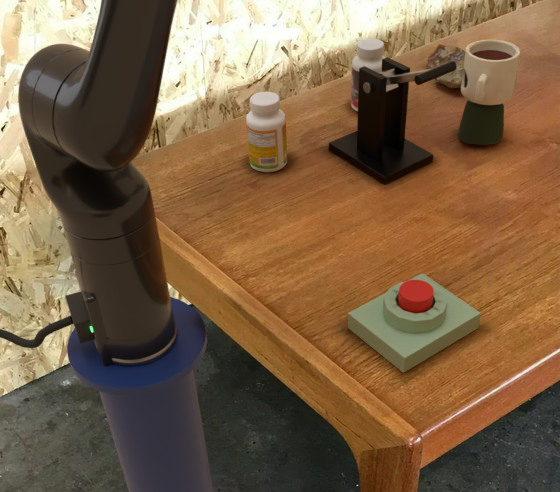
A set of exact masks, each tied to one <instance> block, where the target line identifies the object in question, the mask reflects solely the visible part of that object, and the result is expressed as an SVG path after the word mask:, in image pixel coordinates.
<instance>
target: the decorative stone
mask: <svg viewBox="0 0 560 492" xmlns="http://www.w3.org/2000/svg"><path fill="white" fill-rule="evenodd" d="M465 51H466V50H464V49H462V48H460V47H459V46H454V45H445V44H440V43H439V44H437V46H436V48H435V49H434V50H433V51H431V52H430V53H429V55H428V57H427V60H426V61H427V62H426V63H425V66H426V68H427V69H432V68H435V67H438V66H440V65H443V64H445V63H448V62H450V61H454V62H455V63H456V65H457V68H456V70H455V71H453V72H450V73H448V74H445V75H443V76H440V77H438V78H436V79H434V80H435V81H437V82H438V83H440V84H441V85H444V86H446V87H447V88H449V89H458V88H460V89H461V83H462V75H463V67H464V59H465Z"/></svg>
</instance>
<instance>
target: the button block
mask: <svg viewBox="0 0 560 492" xmlns="http://www.w3.org/2000/svg"><path fill="white" fill-rule="evenodd" d="M409 280H422V281H425V282H427V283H429V284H430V285H431V286H432V287H433V290H434V295H433V303H432V307H431V308H430V310H428V311H427V312H424V313H411V312H407V311H404V310H402V309H401V308H400V306H399V304H398V297H399V288H400V286H401V285H402V284H403V283H404V282H405V281H400V282H398V283H396V284H394V285H392V286H390V287H389V288H388V289H387V291H386V292H385V293H382V294H380V295H379V296H377V297H375V298H373V299H371V300H370V301H367V302H366V303H364V304H362V305H360V306H358V307H357V308H355V309H353V310H351V311H349V312H348V313H347V329H348V330H349V331H351V332H352V333H353V334H354V335H356V336H357V337H358V338H359V339H361V340H362V341H363V342H364V343H365V344H367V345H368V346H369V347H370V348H371V349H373V350H374V351H376V353H378V354H379V355H381V357H383V358H384V359H385V360H387V361H388V362H389V363H391V364H392V365H393V366H394V367H395V368H397V369H398V370H399V371H400V372H402V373H406V372H408V371H409V370H411V369H413V368H414V367H416V366H417V365H420V364H421V363H422V362H424V361H426V360H427V359H429V358H431V357H432V356H434V355H436V354H437V353H439V352H441V351H443V350H444V349H446V348H447V347H449V346H451V345H453V344H454V343H456V342H458V341H459V340H461V339H463V338H465V337H466V336H468V335H469V334H471V333H472V332H475V330H477V329H479V325H480V320H481V314H482V313H481V312H480V311H478V310H477V309H475V308H474V307H472V306H471V305H470V304H468V303H467V302H465V301H464V300H462V299H461V298H460V297H458V296H456V294H454V293H452V292H451V291H450V290H448V289H446V288H445V287H444V286H442V285H441V284H439V283H438V282H436V281H435V280H433V279H432V278H431V277H429V276H428V275H426V274H424V273H423V272H422V273H421V272H420V274H418V275H416V276H414V277H412V278H410V279H408V280H407V281H409Z"/></svg>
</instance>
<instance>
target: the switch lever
mask: <svg viewBox="0 0 560 492" xmlns="http://www.w3.org/2000/svg"><path fill="white" fill-rule="evenodd" d="M456 68H457V65H456V63H455V62H454V61H450V62H448V63H445V64H443V65H440V66H438V67H435V68H432V69H430V68H427V69H421V70H413V71H410V72H408V73H402V74H396V73H395V69H388V70H383V71H379V72H377V73H379V74H381V75H383V76H385V77H387V85H386V92H387V91H390V90H392V89H395V88H397V87H399V86H398V84H399V83H406V82H409V83H412V82H414V83H415V85H416V86H421V85H423V84H425V83H428V82H431V81H433V80H435V79H436V78H438V77H440V76H443V75H445V74H448V73H450V72H453V71H455V70H456Z"/></svg>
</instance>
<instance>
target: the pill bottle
mask: <svg viewBox="0 0 560 492" xmlns="http://www.w3.org/2000/svg"><path fill="white" fill-rule="evenodd" d="M355 51H356V56H354V57H353V59H352V60H351V86H350V87H351V89H350V106H351V108H352V110H354V111H355V112H357V113H358V89H359V68H361V67H364V66H365V67H367V68H369V69H371V70H373V71H375V72H379V71H382V59H384V58H387V57H386V56H385V43H384V41H383V40H381V39H379V38H374V37H372V38H371V37H369V38H368V37H367V38H363V39H361V40H358V41H357V42H356V50H355Z"/></svg>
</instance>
